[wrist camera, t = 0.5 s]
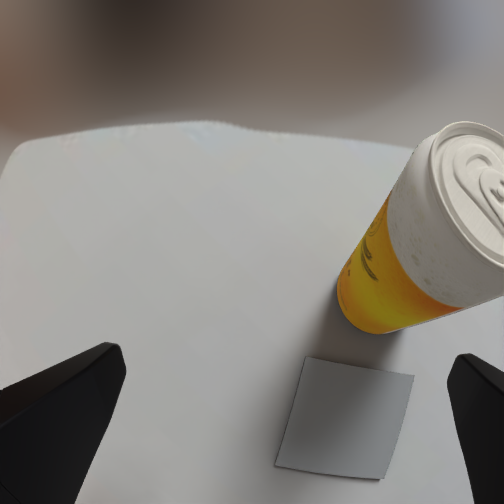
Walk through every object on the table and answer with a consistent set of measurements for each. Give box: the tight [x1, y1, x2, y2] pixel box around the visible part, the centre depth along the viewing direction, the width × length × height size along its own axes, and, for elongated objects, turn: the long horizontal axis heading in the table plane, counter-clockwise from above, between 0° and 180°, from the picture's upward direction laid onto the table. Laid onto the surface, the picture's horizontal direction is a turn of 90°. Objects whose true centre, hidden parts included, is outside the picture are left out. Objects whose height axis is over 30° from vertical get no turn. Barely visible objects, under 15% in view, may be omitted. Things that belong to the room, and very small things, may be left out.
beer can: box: [337, 121, 504, 334], centre depth 14 cm, size 6×6×15 cm
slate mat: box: [275, 357, 414, 479], centre depth 18 cm, size 8×8×1 cm
